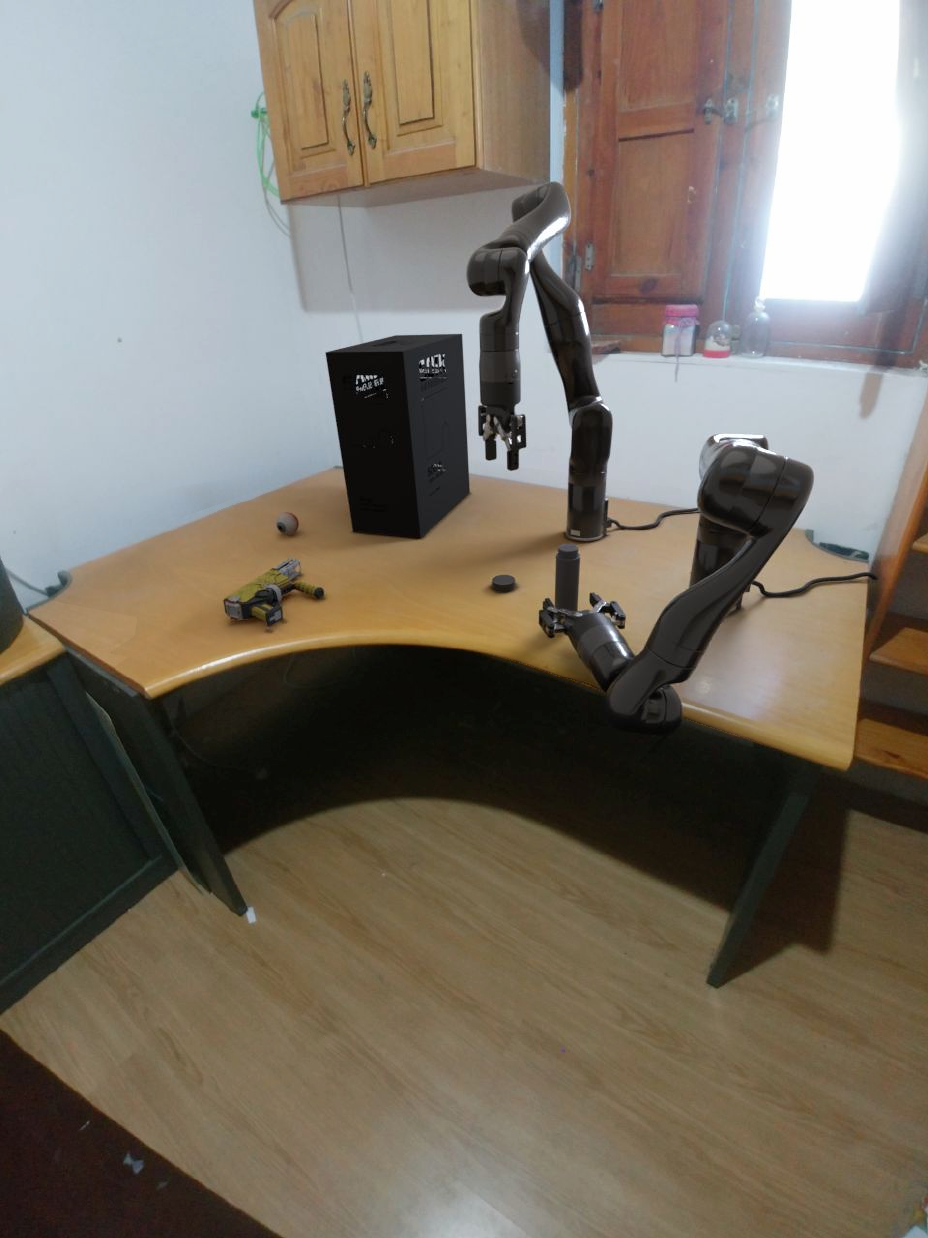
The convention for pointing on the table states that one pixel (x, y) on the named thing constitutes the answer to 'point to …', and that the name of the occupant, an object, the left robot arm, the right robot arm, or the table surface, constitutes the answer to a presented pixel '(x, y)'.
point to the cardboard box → (401, 431)
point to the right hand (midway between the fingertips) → (568, 599)
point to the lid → (503, 583)
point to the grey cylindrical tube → (567, 577)
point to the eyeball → (287, 523)
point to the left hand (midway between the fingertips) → (501, 464)
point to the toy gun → (268, 594)
